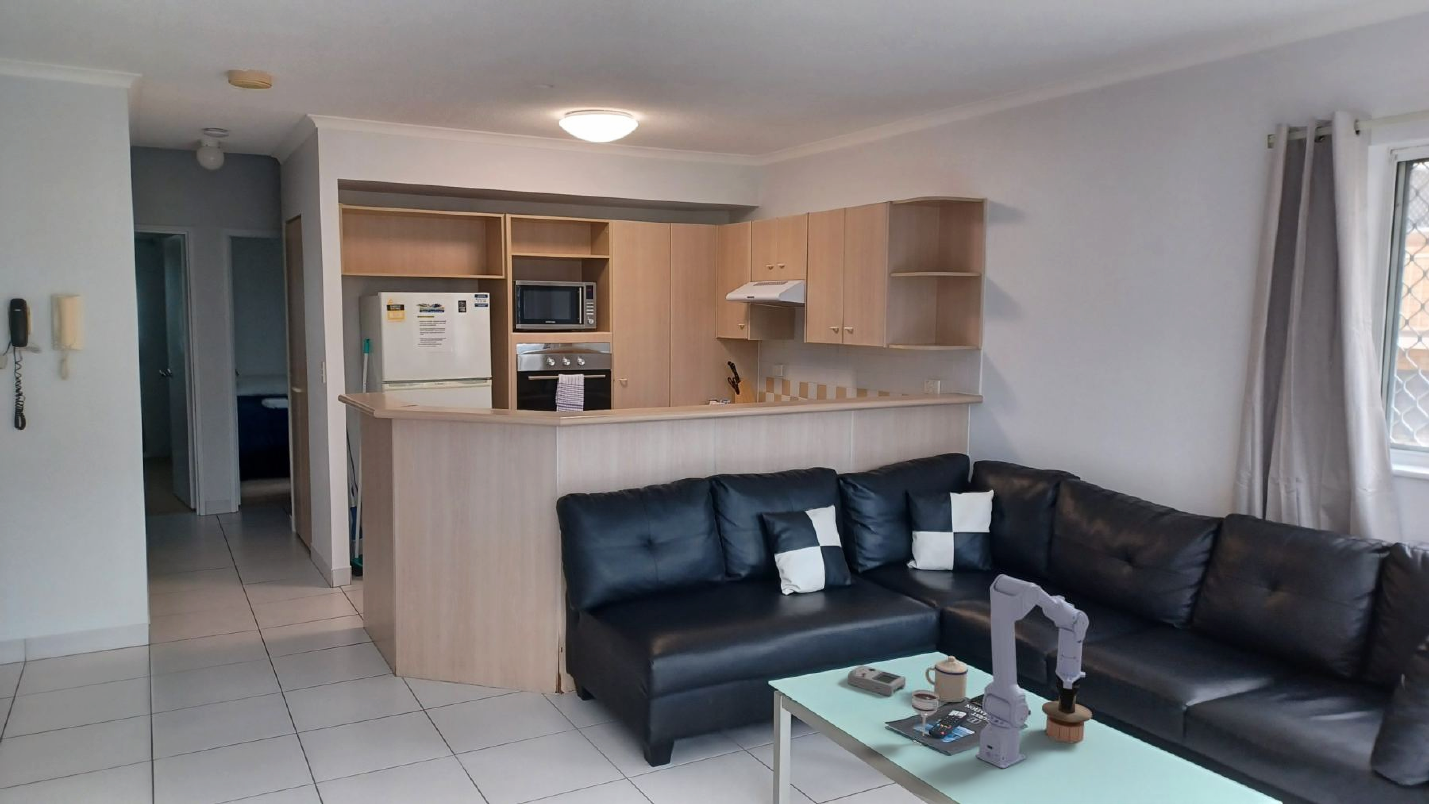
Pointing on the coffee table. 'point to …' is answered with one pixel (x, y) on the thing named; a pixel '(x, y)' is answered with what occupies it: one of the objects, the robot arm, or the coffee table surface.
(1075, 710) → the walnut lid
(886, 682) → the handheld gaming device
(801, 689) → the coffee table surface
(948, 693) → the teacup with lid
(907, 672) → the coffee table surface
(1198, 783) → the coffee table surface
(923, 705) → the wineglass
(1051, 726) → the terracotta bowl
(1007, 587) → the robot arm
